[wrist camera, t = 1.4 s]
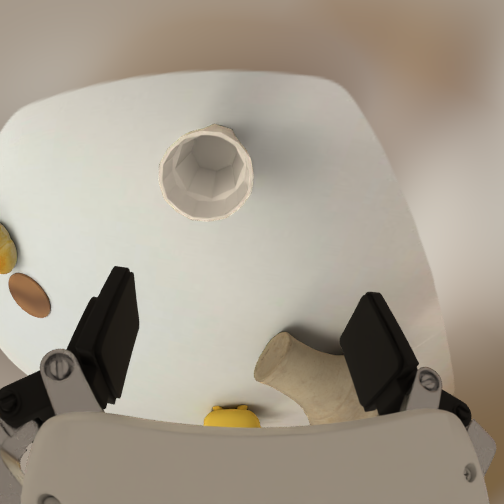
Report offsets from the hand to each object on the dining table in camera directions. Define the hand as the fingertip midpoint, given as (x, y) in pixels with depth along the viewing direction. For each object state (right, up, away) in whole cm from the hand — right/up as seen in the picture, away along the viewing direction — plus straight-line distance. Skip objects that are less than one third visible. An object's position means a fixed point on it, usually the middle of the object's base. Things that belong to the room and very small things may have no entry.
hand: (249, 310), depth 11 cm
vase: (+12, -15, +36) cm, 41 cm away
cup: (-4, +13, +17) cm, 22 cm away
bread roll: (-41, +4, +20) cm, 46 cm away
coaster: (-39, -6, +26) cm, 48 cm away
